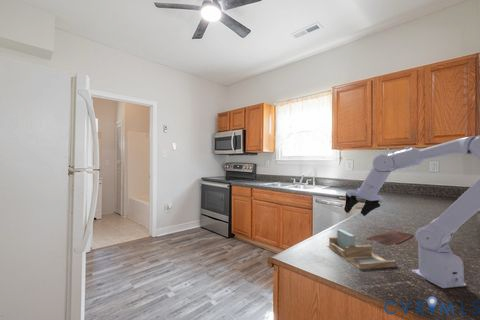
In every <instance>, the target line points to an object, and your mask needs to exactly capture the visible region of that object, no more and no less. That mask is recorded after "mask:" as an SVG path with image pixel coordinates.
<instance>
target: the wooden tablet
mask: <svg viewBox="0 0 480 320" xmlns="http://www.w3.org/2000/svg"><path fill="white" fill-rule="evenodd" d="M412 237H414V234H413V233H407V232H402V231H389V232H385V233H379V234H375V235H372V236H369V237H366V240H368V241H374V242H375V241H376V242H378V243H379V244H381V245H384V246H392V245H394V244H395V245H398V244H400V243H403V241H406V240H408V239H410V238H412Z"/></svg>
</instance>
